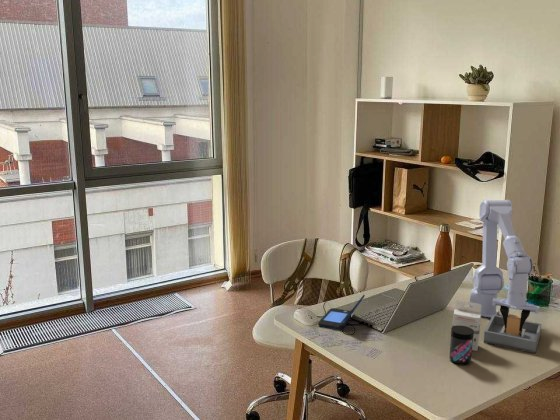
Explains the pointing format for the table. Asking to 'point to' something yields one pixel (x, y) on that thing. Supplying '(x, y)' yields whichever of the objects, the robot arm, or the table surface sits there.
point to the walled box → (523, 344)
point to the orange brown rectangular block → (513, 324)
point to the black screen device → (337, 317)
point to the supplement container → (461, 344)
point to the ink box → (468, 318)
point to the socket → (513, 334)
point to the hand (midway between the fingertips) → (513, 328)
